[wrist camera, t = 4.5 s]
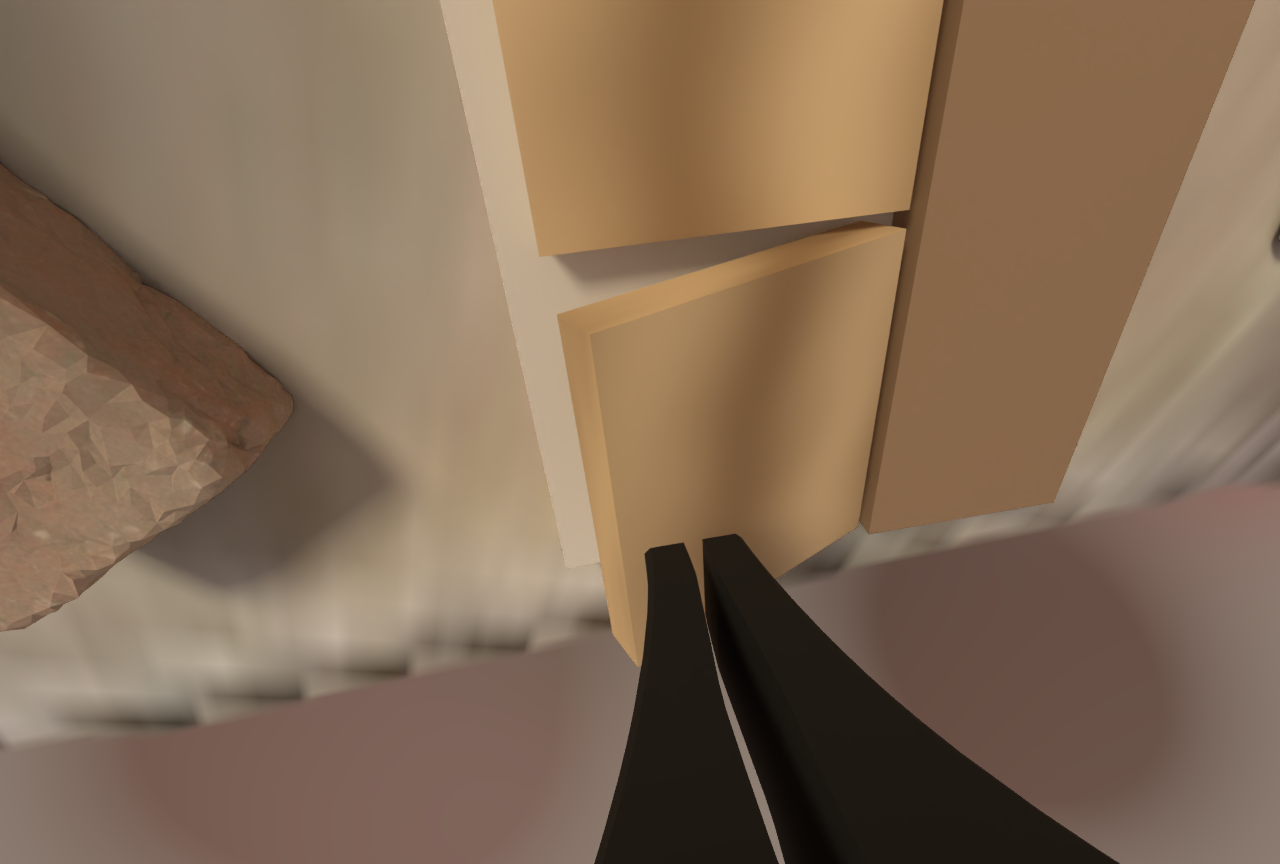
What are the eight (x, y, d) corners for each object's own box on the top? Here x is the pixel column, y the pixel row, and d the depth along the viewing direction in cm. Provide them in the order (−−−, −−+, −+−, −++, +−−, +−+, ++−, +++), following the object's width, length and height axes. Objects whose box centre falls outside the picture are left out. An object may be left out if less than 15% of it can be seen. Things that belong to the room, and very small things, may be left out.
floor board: (1306, -469, 10) (1542, -635, 8) (1004, 463, 21) (1062, 514, 18) (356, -432, 9) (288, -614, 6) (564, 536, 20) (568, 599, 17)
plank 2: (860, 220, 13) (906, 228, 13) (827, 506, 18) (857, 526, 17) (556, 314, 10) (589, 334, 9) (613, 634, 15) (637, 667, 14)
